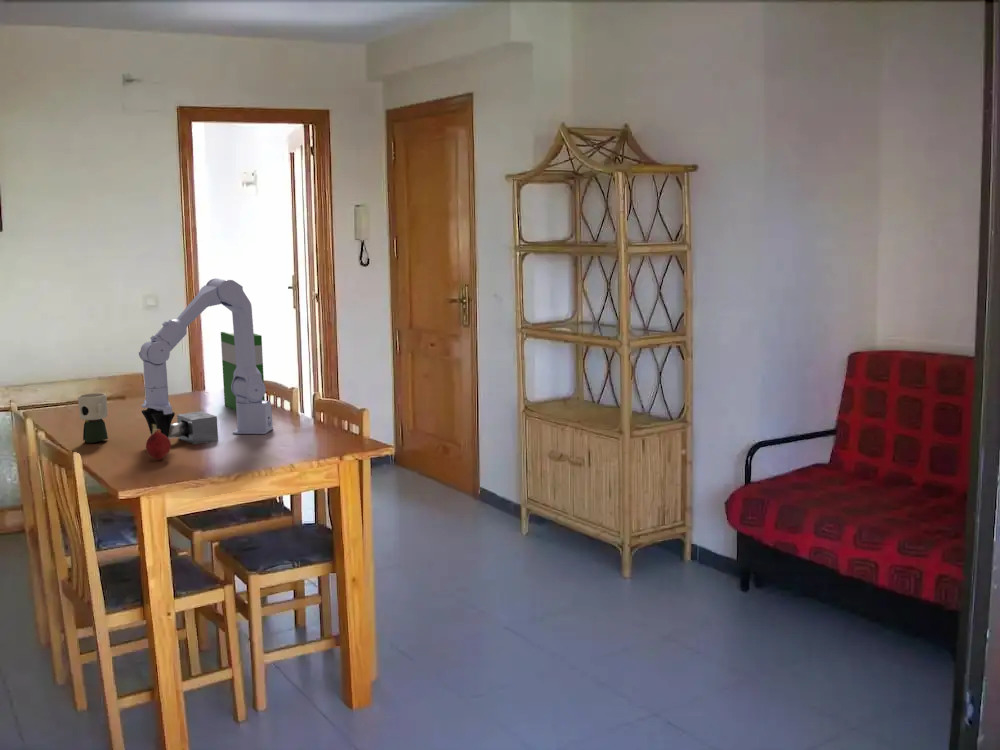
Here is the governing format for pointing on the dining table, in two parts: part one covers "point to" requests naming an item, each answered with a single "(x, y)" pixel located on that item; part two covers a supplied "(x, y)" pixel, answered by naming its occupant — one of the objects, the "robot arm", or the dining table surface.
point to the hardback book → (230, 364)
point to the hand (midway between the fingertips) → (159, 437)
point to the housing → (199, 427)
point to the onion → (158, 445)
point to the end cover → (174, 429)
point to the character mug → (93, 416)
